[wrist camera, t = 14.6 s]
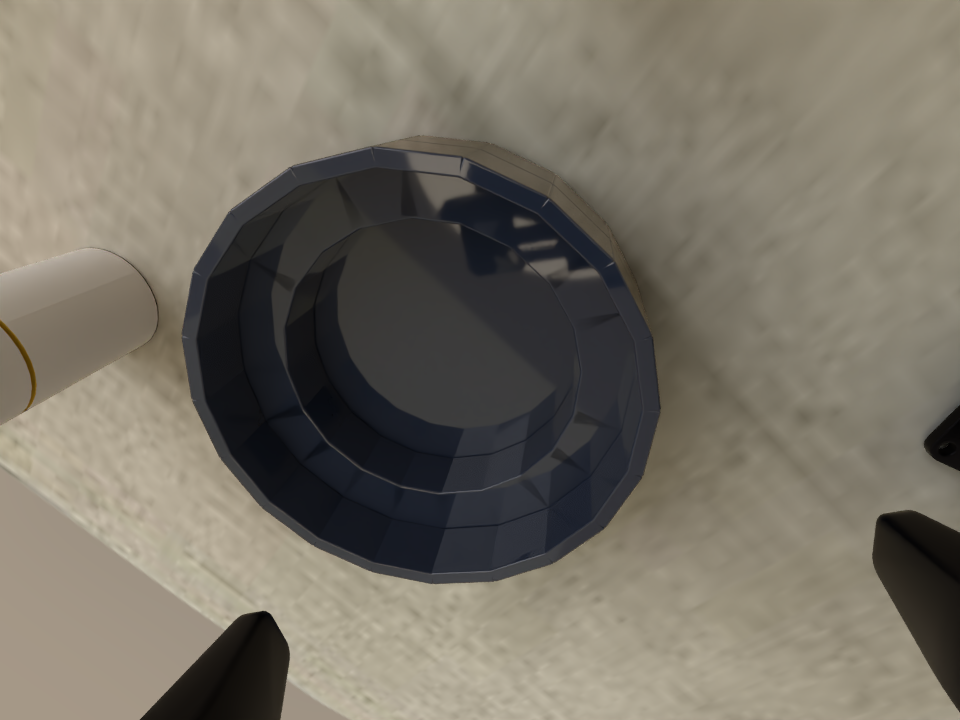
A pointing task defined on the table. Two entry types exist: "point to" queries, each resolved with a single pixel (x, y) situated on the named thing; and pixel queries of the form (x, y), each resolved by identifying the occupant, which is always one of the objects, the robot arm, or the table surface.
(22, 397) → the tube
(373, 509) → the bowl
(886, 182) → the table surface
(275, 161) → the table surface
